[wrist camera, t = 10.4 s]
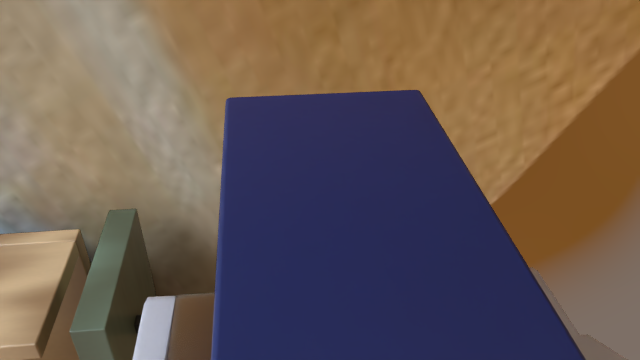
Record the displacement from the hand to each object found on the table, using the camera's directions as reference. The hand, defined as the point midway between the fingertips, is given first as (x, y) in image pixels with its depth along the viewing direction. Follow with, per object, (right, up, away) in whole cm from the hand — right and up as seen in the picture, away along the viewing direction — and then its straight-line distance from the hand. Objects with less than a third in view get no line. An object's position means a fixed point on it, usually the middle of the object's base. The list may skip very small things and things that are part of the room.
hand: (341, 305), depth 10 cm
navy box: (0, +2, +2) cm, 3 cm away
